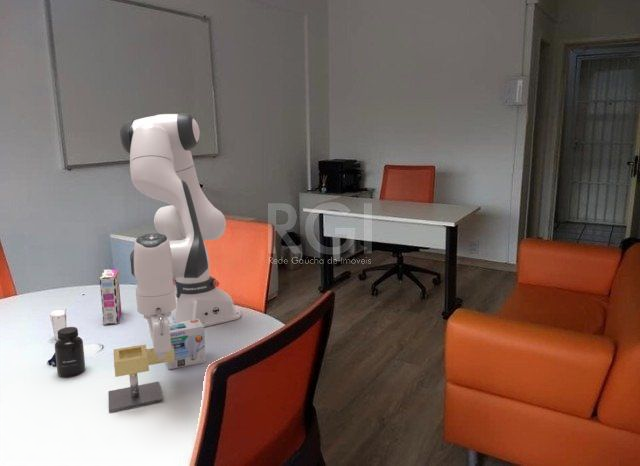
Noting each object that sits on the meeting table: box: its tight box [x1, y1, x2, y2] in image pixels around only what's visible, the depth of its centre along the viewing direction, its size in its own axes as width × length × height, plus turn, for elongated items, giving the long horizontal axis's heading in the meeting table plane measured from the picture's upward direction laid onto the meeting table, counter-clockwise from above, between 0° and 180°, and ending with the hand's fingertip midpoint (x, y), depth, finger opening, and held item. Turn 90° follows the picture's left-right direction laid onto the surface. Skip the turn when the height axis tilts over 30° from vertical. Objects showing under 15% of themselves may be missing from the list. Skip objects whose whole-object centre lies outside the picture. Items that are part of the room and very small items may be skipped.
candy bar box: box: [99, 268, 122, 326], centre depth 169 cm, size 11×5×16 cm, turn 16°
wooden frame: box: [113, 344, 175, 378], centre depth 120 cm, size 14×7×4 cm, turn 113°
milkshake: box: [49, 309, 68, 341], centre depth 154 cm, size 4×5×10 cm
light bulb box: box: [165, 319, 207, 370], centre depth 139 cm, size 11×7×11 cm, turn 117°
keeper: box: [107, 373, 164, 414], centre depth 120 cm, size 12×9×8 cm
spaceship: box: [46, 352, 56, 367], centre depth 139 cm, size 7×6×5 cm
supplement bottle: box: [54, 326, 86, 378], centre depth 133 cm, size 7×7×12 cm
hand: (160, 355), depth 122 cm, fingers closed on wooden frame
